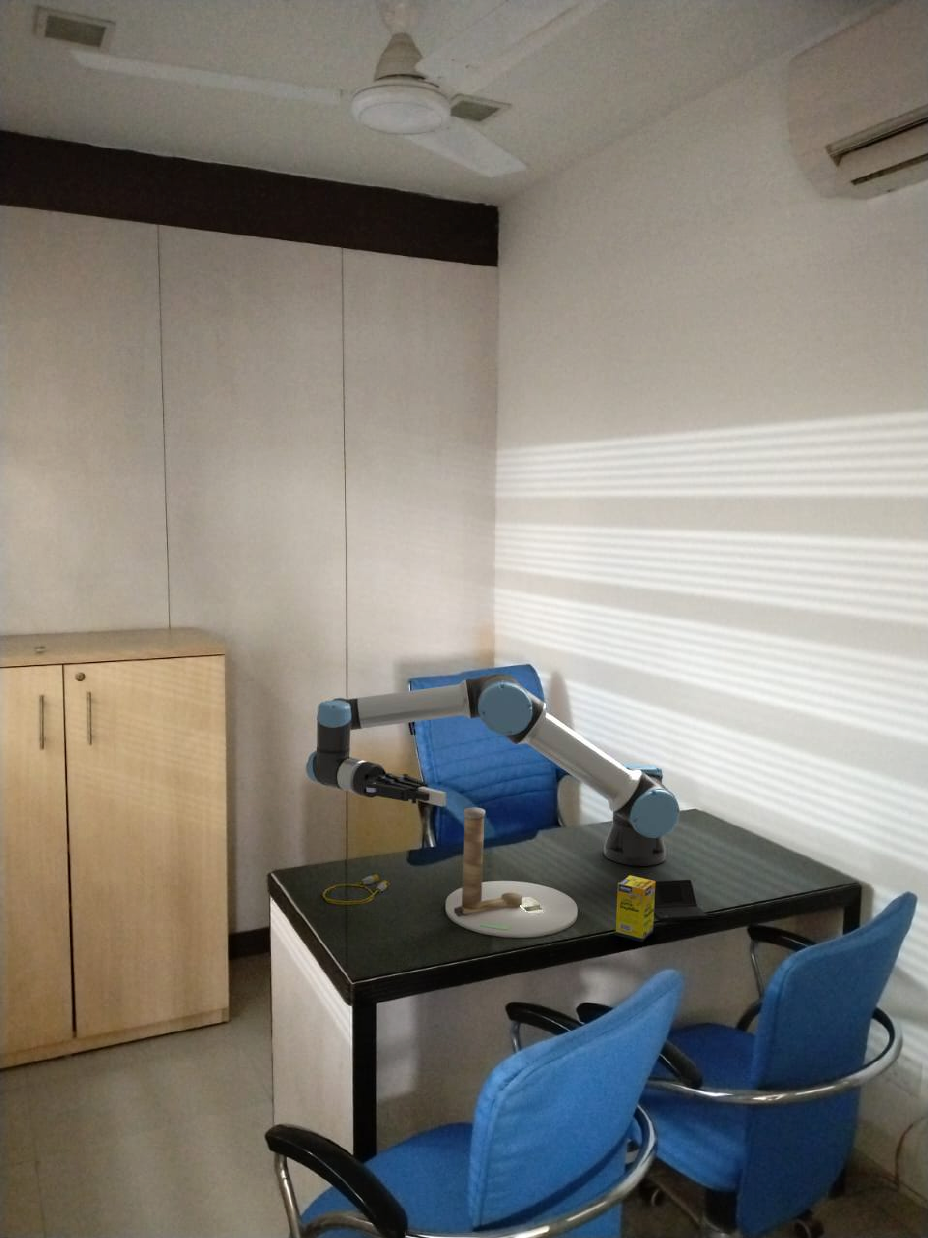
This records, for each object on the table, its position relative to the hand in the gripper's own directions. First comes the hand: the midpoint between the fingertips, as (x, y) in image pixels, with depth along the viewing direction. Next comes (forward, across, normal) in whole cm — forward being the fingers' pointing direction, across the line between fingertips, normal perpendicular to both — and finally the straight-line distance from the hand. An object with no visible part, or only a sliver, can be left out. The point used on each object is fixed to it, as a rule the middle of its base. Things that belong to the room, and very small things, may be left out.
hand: (443, 799), depth 210 cm
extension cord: (-19, +5, -25) cm, 32 cm away
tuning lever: (+10, -5, -22) cm, 25 cm away
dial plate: (+12, -10, -24) cm, 28 cm away
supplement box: (+37, -17, -24) cm, 47 cm away
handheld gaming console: (+38, -33, -24) cm, 56 cm away
